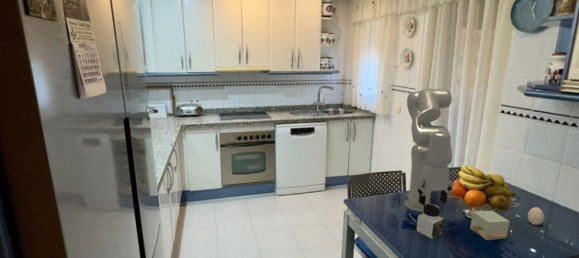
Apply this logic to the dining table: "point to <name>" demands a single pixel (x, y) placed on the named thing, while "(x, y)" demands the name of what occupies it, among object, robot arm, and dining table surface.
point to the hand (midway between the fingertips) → (432, 202)
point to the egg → (535, 216)
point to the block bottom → (488, 235)
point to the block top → (490, 221)
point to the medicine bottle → (430, 221)
